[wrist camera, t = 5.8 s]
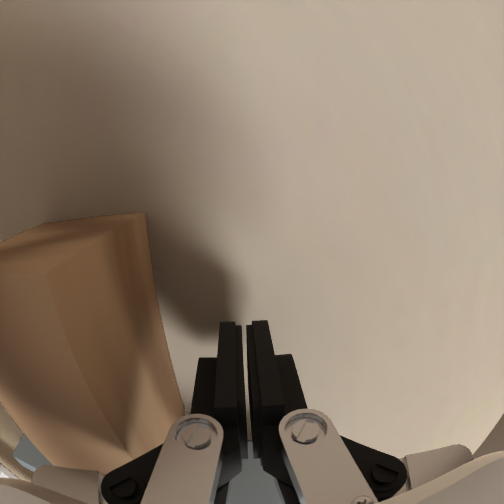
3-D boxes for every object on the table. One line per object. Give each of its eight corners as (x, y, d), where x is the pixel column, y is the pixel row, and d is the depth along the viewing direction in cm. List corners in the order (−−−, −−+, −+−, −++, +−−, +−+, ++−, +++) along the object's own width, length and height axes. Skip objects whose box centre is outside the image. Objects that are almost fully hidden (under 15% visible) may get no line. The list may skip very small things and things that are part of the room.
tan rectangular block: (146, 211, 9) (45, 273, 4) (184, 406, 12) (170, 505, 7) (45, 223, 9) (-59, 273, 3) (102, 398, 12) (68, 479, 6)
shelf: (318, 434, 14) (336, 499, 9) (314, 445, 14) (330, 507, 9) (36, 410, 13) (12, 455, 8) (45, 422, 13) (23, 466, 8)
